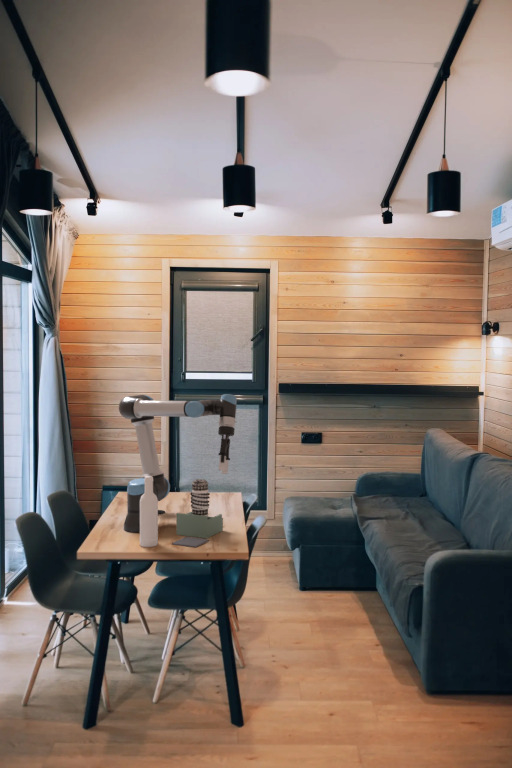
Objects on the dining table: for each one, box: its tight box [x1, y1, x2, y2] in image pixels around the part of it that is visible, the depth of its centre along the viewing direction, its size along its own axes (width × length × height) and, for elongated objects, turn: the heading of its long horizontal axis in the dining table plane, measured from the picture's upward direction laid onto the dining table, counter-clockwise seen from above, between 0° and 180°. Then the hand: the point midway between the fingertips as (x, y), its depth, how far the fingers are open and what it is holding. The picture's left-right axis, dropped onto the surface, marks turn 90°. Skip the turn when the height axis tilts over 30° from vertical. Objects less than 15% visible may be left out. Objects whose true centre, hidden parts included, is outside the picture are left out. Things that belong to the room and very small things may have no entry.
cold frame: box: [175, 511, 224, 539], centre depth 301 cm, size 16×16×10 cm
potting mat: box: [171, 536, 210, 548], centre depth 283 cm, size 12×12×1 cm
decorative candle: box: [189, 478, 211, 519], centre depth 300 cm, size 9×9×25 cm
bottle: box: [139, 476, 159, 548], centre depth 279 cm, size 8×8×30 cm
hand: (223, 471), depth 296 cm, fingers open, 13 cm apart
